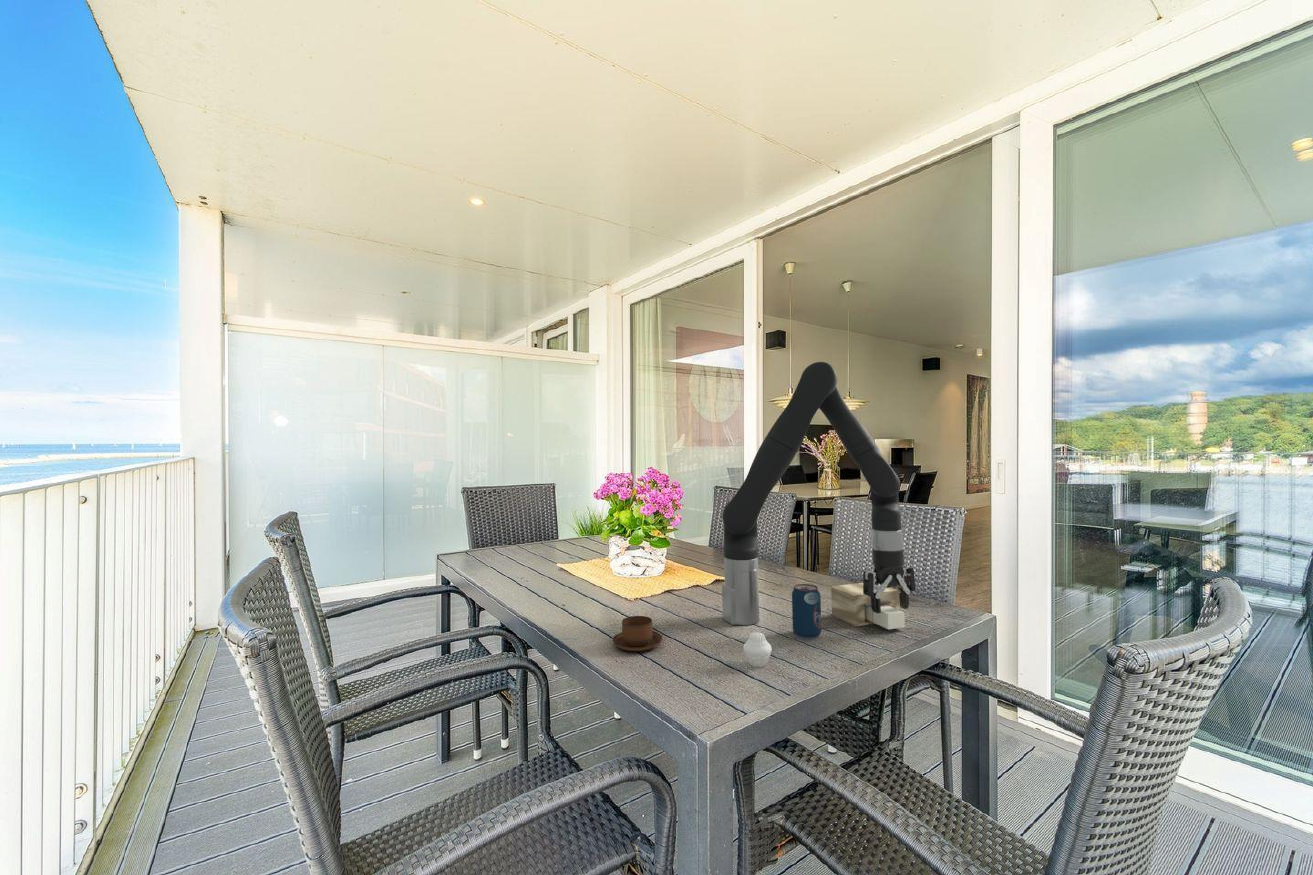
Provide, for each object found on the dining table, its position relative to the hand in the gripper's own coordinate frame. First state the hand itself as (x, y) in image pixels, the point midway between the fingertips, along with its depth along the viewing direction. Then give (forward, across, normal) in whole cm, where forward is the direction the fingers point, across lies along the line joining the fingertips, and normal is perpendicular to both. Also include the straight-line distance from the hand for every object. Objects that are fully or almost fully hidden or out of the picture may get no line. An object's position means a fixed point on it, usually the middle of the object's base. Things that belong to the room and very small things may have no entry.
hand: (890, 610), depth 136 cm
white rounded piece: (+4, +42, +8) cm, 44 cm away
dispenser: (+5, 0, -10) cm, 11 cm away
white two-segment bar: (+4, 0, -5) cm, 6 cm away
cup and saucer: (+4, +64, -12) cm, 65 cm away
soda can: (+5, +22, -4) cm, 23 cm away
